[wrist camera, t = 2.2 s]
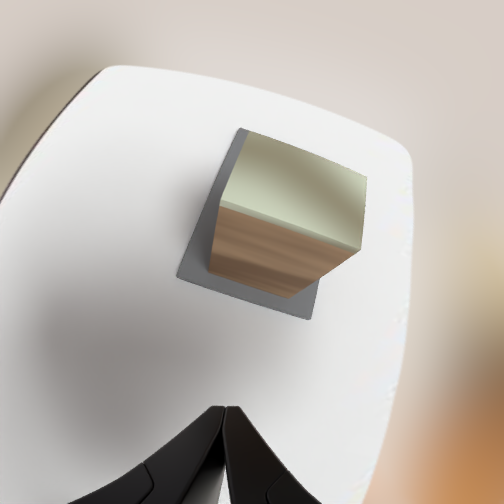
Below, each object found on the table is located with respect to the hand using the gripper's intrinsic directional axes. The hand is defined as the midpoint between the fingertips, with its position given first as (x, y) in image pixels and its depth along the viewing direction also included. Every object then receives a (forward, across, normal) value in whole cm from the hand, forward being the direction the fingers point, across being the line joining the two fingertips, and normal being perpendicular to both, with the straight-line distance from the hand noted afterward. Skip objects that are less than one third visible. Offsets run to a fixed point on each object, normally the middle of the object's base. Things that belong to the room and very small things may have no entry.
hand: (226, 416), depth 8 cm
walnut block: (+14, +1, +1) cm, 14 cm away
